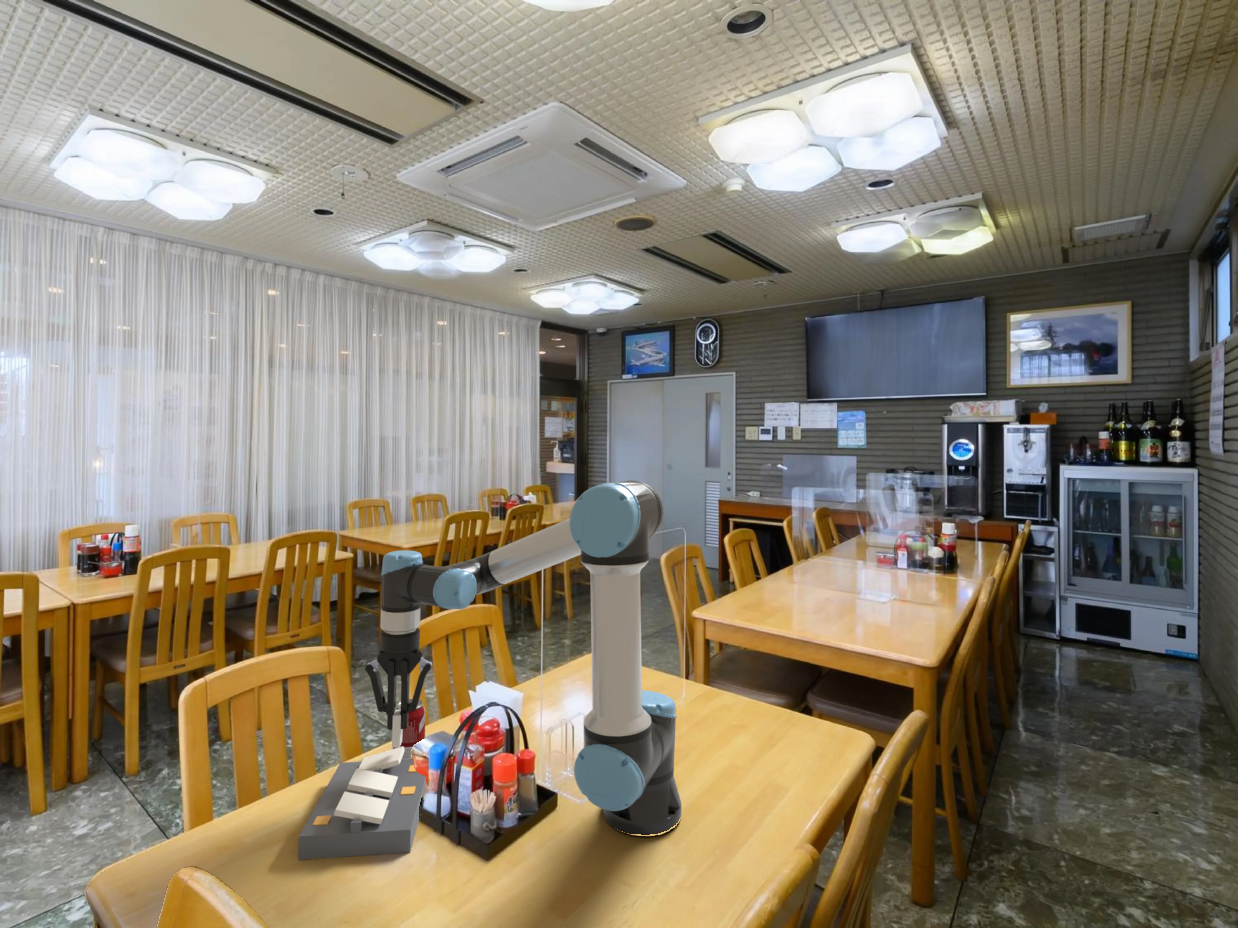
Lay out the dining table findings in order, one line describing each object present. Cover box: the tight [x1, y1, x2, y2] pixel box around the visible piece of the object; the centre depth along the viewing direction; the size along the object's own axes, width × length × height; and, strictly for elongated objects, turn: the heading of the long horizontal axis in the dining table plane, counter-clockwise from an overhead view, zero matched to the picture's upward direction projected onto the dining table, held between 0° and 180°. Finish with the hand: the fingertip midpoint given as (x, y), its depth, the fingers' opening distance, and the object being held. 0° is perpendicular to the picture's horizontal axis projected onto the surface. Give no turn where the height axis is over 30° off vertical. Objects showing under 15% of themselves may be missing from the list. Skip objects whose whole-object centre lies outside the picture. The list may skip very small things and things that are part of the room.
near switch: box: [334, 792, 389, 824], centre depth 109 cm, size 8×6×2 cm
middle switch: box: [347, 768, 398, 798], centre depth 117 cm, size 8×6×2 cm
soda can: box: [392, 698, 427, 760], centre depth 138 cm, size 7×7×12 cm
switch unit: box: [297, 759, 427, 861], centre depth 117 cm, size 18×24×6 cm
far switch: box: [359, 746, 405, 772], centre depth 124 cm, size 8×6×2 cm
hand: (397, 743), depth 125 cm, fingers closed
